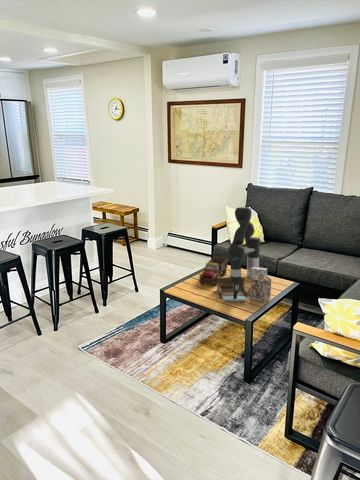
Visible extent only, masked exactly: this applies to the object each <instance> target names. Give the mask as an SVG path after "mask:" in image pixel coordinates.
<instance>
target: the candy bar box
mask: <svg viewBox="0 0 360 480" xmlns="http://www.w3.org/2000/svg"><path fill="white" fill-rule="evenodd" d="M258 274H264V275H266V276H268V268H265V267H260V266H259V267H252V268H251V278H250V281H251V280H252V278H253V276H255V275H258Z"/></svg>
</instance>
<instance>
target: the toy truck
mask: <svg viewBox="0 0 360 480" xmlns="http://www.w3.org/2000/svg"><path fill="white" fill-rule="evenodd" d="M228 260H229V258H228V257H223V256H212V258H211V259H210V260H208V262H207V263H206V264H205V266H204V267H205V268H204V267H203V269H202V270H203V271H202V272H201V273H200V274H199V282H200V284H211V285H213V286H217V280H218V277H221V274H222V276H226V275H227V270H228Z"/></svg>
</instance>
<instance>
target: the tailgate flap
mask: <svg viewBox="0 0 360 480" xmlns="http://www.w3.org/2000/svg"><path fill="white" fill-rule="evenodd" d="M222 298H223V299H222V300H223V302H235V301H236V302H238V301H239V302H241V301H242V302H244V301H245V302H247V301H248V298H246V297H245V296H237V299H234V298H233V296H222Z"/></svg>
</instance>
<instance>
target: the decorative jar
mask: <svg viewBox="0 0 360 480" xmlns="http://www.w3.org/2000/svg"><path fill="white" fill-rule="evenodd" d="M249 288H250V289H249V300H252V301H256V302H259V303H266V302H267V301H268V300H269V299H270V298H271V295H272V279H271V278H270V276H268V275H267V276H266V275H264V274H258V275H255V276H253V278H252V280H251V279H250V287H249Z"/></svg>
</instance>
